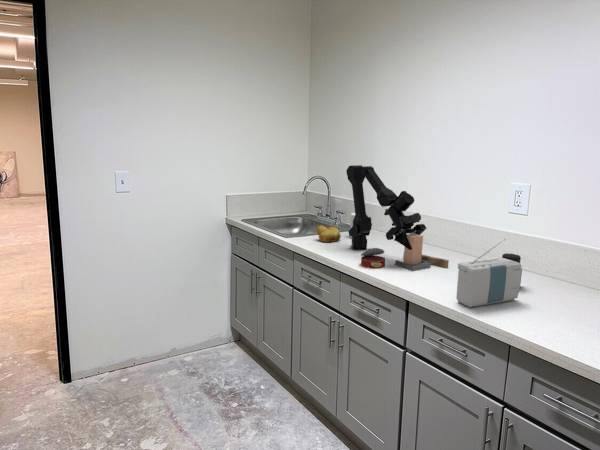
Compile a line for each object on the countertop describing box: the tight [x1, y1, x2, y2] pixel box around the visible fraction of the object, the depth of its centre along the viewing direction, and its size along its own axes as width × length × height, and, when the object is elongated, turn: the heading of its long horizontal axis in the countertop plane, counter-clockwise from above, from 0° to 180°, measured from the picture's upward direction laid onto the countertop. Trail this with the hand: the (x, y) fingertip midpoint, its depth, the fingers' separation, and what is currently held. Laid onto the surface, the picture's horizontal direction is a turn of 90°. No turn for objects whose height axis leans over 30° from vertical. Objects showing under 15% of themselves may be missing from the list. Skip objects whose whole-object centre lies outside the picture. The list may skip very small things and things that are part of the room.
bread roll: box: [316, 224, 342, 243], centre depth 239 cm, size 13×10×8 cm
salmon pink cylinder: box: [403, 233, 424, 265], centre depth 194 cm, size 5×5×12 cm
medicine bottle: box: [501, 252, 523, 285], centre depth 170 cm, size 7×7×12 cm
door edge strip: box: [402, 254, 450, 269], centre depth 201 cm, size 20×2×3 cm, turn 47°
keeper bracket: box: [393, 259, 432, 271], centre depth 195 cm, size 10×10×2 cm
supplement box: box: [349, 212, 355, 240], centre depth 247 cm, size 7×7×13 cm
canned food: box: [360, 247, 386, 269], centre depth 195 cm, size 11×10×10 cm
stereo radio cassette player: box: [455, 238, 522, 308], centre depth 153 cm, size 21×8×20 cm, turn 114°
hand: (415, 248), depth 193 cm, fingers closed on salmon pink cylinder, 5 cm apart
